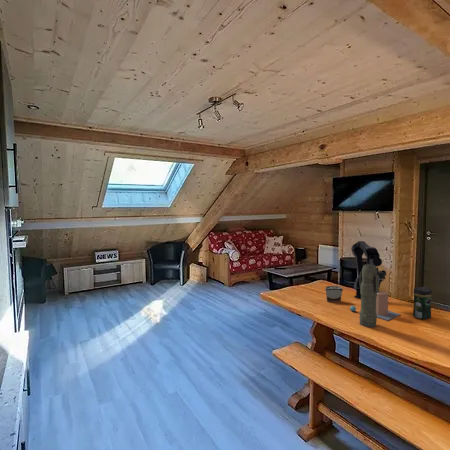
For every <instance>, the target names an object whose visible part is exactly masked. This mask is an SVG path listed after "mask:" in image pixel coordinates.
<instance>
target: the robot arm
mask: <svg viewBox="0 0 450 450" xmlns="http://www.w3.org/2000/svg"><path fill="white" fill-rule="evenodd" d="M351 252H352V256H354V258H355V265H356V266H355V267H356V275H357V277H356V278H355V282H354V284H353V289H354V290H355V295H354V298H356V299H360V300H361V294H360V286H359V279H360V272H361V271H362V268H363V266H364V262H363V261H364V260H363V255H365V257H366V258H365V260H366V264H372V265H375V267H376V270H377V275H378V276H379V288H380V286H381V283H382V282H383V281H384V280H386V276H387V271H386V270H379V268H378V267H379V266H381V265H382V264H383V260H382V258H380V257H381V255H380V253H379V250H378V249H377V248H376V247H374V246H370V245H369V244H367V243H366V241H363V240H358V241H356V243H354V244H352V246H351Z"/></svg>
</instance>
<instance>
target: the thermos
mask: <svg viewBox="0 0 450 450" xmlns="http://www.w3.org/2000/svg"><path fill="white" fill-rule="evenodd" d="M376 268H377V266H376V267H375V265H372V264H367V263H365V264H363V268H362V271H361V272H360V279H359V286H360V294H361V299H360V311H359V325H360V326H362V327H365V328H376V327H377V320H378V318H377V314H376V297H377V293H378V292H379V291H380V287H379V276H378V275H377V270H376Z"/></svg>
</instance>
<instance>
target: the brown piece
mask: <svg viewBox="0 0 450 450" xmlns="http://www.w3.org/2000/svg"><path fill="white" fill-rule="evenodd" d="M388 311H389V293H388V292H386V291H380V290H379V292H378V293H377V297H376V314H378V315H388Z"/></svg>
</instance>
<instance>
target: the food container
mask: <svg viewBox="0 0 450 450" xmlns="http://www.w3.org/2000/svg"><path fill="white" fill-rule="evenodd" d="M324 289H325V290H324V291H325V294H326V302H327V303H341V301H342V295H343V294H342V293H343V292H344V290H343V287H341V286H338V285H327V286H325V288H324Z"/></svg>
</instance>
